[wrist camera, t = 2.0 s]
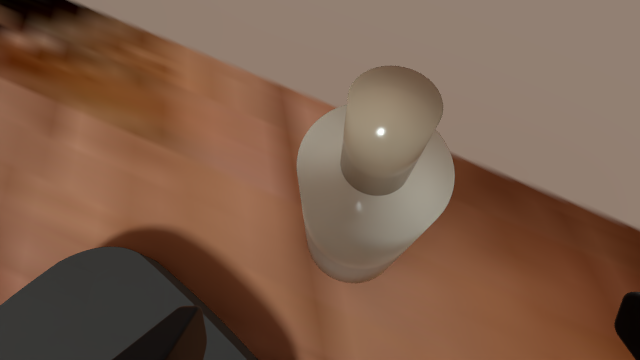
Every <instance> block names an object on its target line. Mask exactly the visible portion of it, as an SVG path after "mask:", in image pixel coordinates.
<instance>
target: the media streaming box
mask: <svg viewBox="0 0 640 360" xmlns="http://www.w3.org/2000/svg"><path fill="white" fill-rule="evenodd" d="M181 306H199V307H201V309H202V312H203V318H204V323H205V329H206V334H207V345H206V350H205V355H204V359H203V360H258V359H257V358H256V357H255V356H254V355H253V354H252V353H251V352H250V350H249V349H248V348H247V347H246V346H245V345H244V344H243V343H242V342H241V341H240V340H239V339H238V337H237V336H236V335H235V334H234V333H233V332H232V331H231V330H230V329H229V328H228V327H227V326H226V325H225V324H224V323H223V322H222V321H221V320H220V319H219V318H218V317H217V316H216V315H215V314H214V313H213V312H212V311H211V310H210V309H209V308H208V307H207V306H206V305H205V304H204V303H203V302H202V301H201V300H200V299H199V298H198V297H196V296H195V295H194V294H193V293H192V292H191V291H190V290H189V289H188V288H187V287H186V286H185V285H183V284H182V283H181V282H180V281H179V280H178V279H177V278H176V277H174V276H173V275H172V274H171V273H170V272H169V271H167V270H166V269H165V268H164V267H163V266H161V265H160V264H159V263H158V262H157V261H155V260H153V259H151V258H148V257H146V256H144V255H142V254H140V253H137V252H135V251H133V250H130V249H126V248H121V247H101V248H95V249H90V250H87V251H83V252H80V253H78V254H75V255H72V256H70V257H68V258H66V259H64V260H62V261H60V262H58V263H57V264H55V265H54V266H53V267H51V268H50V269H48V270H47V271H45V272H44V273H43V274H41V275H40V276H38V277H37V278H36V279H34V280H33V281H32V282H30V283H29V284H28V285H26V286H25V287H24V288H22V289H21V290H20V291H18V292H17V293H16V294H14V295H13V296H12V297H11V298H9V299H8V300H7V301H5V302H4V303H3V304H2V305H0V360H112V359H113V358H115V357H116V356H117V355H118V354H120V353H121V352H122V351H123V350H125V349H126V348H127V347H129V346H130V345H131V344H132V343H134V342H135V341H136V340H138V339H139V338H140V337H141V336H143V335H144V334H145V333H146V332H148V331H149V330H150V329H152V328H153V327H154V326H155V325H157V324H158V323H159V322H160V321H162V320H163V319H164V318H166V317H167V316H168V315H169V314H171V313H172V312H173V311H175V310H176V309H177V308H179V307H181Z"/></svg>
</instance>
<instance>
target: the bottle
mask: <svg viewBox="0 0 640 360" xmlns="http://www.w3.org/2000/svg"><path fill="white" fill-rule="evenodd" d="M442 113H443V102H442V98H441V95H440V93H439V91H438V89H437V88H436V87H435V85H434V84H433V83H432V82H431V81H430V80H429V79H427V78H426V77H425V76H424V75H422V74H420V73H418V72H416V71H414V70H412V69H408V68H405V67H399V66H381V67H377V68H373V69H371V70H369V71H367V72H365V73H363V74H361V75H360V76H359V77H358V78H357V79H356V80H355V81H354V82H353V84H352V85H351V87H350V89H349V93H348V99H347V105H344V106H341V107H338V108H336V109H334V110H332V111H330V112H328V113H327V114H325V115H324V116H322V117H321V118H320V119H319V120H317V121H316V122H315V123H314V124H313V125H312V127H311V128H310V129H309V130H308V132H307V133H306V135H305V136H304V139H303V141H302V143H301V145H300V148H299V151H298V157H297V174H298V182H299V189H300V196H301V203H302V210H303V217H304V224H305V231H306V238H307V245H308V249H309V252H310V255H311V257H312V259H313V260H314V262H315V263H316V265H317V266H318V267H319V268H320V269H321V270H322V271H323V272H324V273H326V274H327V275H328V276H330V277H332V278H334V279H336V280H339V281H342V282H346V283H362V282H366V281H370V280H372V279H374V278H376V277H378V276H379V275H381V274H382V273H383V272H384V271H385V270H386V269H387V268H388V267H389V266H390V265H391V264H392V263H393V262H394V261H395V260H396V259H397V258H398V257H399V256H400V255H401V254H402V253H403V252H404V251H405V250H406V249H407V248H408V247H409V246H410V245H411V244H412V243H413V242H414V241H415V240H416V239H417V238H418V237H419V236H420V235H421V234H422V233H423V232H424V231H425V230H426V229H427V228H428V227H429V226H430V225H431V224H432V223H433V222H434V221H435V220H436V219H437V218H438V217H439V216H440V215H441V214H442V212H443V211H444V209H445V208H446V206H447V205H448V203H449V200H450V198H451V196H452V192H453V188H454V180H455V172H454V164H453V160H452V156H451V154H450V151H449V149H448V147H447V145H446V143H445V141H444V140H443V138H442V137H441V135H440V134H439V133H438V132H437V131H436V130H435V128H436V127H437V125H438V123H439V121H440V119H441V116H442Z"/></svg>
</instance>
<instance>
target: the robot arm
mask: <svg viewBox="0 0 640 360" xmlns="http://www.w3.org/2000/svg"><path fill="white" fill-rule="evenodd" d="M614 324H615V330H616V332H617V334H618V336H619V337H620V339H621V340H622V342H623V343H624V344H625V346H626V347H627V348H628V350H629V351H630V353H631V354H632V355H633V357H634V358H635V359H636V360H640V292H630V293H627V294H626V295H625V296H624V297H623V300H622V302H621V305H620V308H619V311H618V314H617V316H616V319H615V323H614ZM206 345H207V334H206V329H205V323H204V318H203V312H202V309H201V307H199V306H181V307H179V308H177V309H176V310H175V311H173V312H172V313H171V314H169V315H168V316H167V317H166V318H164V319H163V320H162V321H160V322H159V323H158V324H157V325H155V326H154V327H153V328H152V329H150V330H149V331H148V332H146V333H145V334H144V335H143V336H141V337H140V338H139V339H138V340H136V341H135V342H134V343H132V344H131V345H130V346H129V347H127V348H126V349H125V350H123V351H122V352H121V353H120V354H118V355H117V356H116V357H115V358H113V359H112V360H203V359H204V355H205V350H206Z"/></svg>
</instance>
